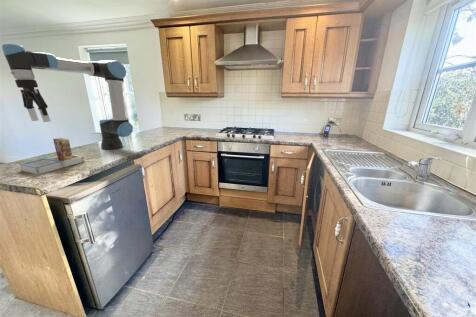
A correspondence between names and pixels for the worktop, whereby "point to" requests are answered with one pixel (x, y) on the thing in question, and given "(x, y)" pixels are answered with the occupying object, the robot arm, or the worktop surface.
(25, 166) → the organizer
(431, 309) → the worktop surface
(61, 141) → the candy box
